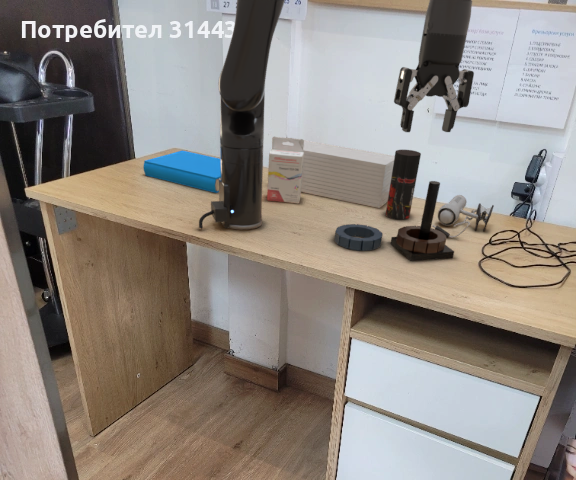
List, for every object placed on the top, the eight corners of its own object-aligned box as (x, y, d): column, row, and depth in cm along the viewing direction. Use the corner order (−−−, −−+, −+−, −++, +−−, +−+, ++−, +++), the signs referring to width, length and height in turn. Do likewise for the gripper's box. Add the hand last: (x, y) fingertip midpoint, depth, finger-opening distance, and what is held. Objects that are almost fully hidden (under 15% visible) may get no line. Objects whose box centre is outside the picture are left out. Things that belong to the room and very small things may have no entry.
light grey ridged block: (392, 198, 150) (399, 156, 144) (379, 208, 143) (385, 164, 136) (288, 177, 162) (290, 137, 155) (271, 185, 154) (272, 144, 147)
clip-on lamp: (466, 256, 127) (494, 219, 137) (474, 232, 122) (502, 196, 132) (419, 239, 131) (449, 205, 141) (425, 215, 126) (455, 181, 136)
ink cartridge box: (266, 201, 143) (268, 140, 134) (269, 195, 147) (271, 135, 138) (299, 203, 142) (303, 142, 134) (301, 198, 146) (305, 138, 138)
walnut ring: (409, 254, 114) (411, 244, 113) (388, 236, 122) (389, 227, 121) (452, 251, 117) (455, 241, 116) (429, 234, 125) (431, 224, 123)
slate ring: (344, 252, 117) (346, 242, 116) (328, 234, 125) (329, 225, 124) (388, 249, 120) (390, 239, 119) (369, 232, 128) (371, 223, 127)
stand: (410, 261, 115) (424, 190, 107) (390, 243, 123) (401, 176, 114) (452, 258, 118) (469, 189, 109) (430, 240, 125) (444, 174, 117)
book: (181, 150, 165) (251, 163, 155) (182, 165, 167) (251, 179, 158) (141, 161, 153) (215, 176, 143) (143, 177, 155) (215, 193, 145)
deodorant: (409, 220, 136) (420, 156, 127) (384, 218, 137) (394, 154, 128) (409, 213, 141) (421, 151, 132) (386, 210, 141) (396, 148, 133)
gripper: (469, 31, 100) (448, 127, 110) (398, 26, 97) (383, 127, 106) (492, 34, 95) (469, 136, 104) (418, 30, 91) (400, 135, 100)
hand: (426, 131), depth 105 cm, fingers open, 8 cm apart
